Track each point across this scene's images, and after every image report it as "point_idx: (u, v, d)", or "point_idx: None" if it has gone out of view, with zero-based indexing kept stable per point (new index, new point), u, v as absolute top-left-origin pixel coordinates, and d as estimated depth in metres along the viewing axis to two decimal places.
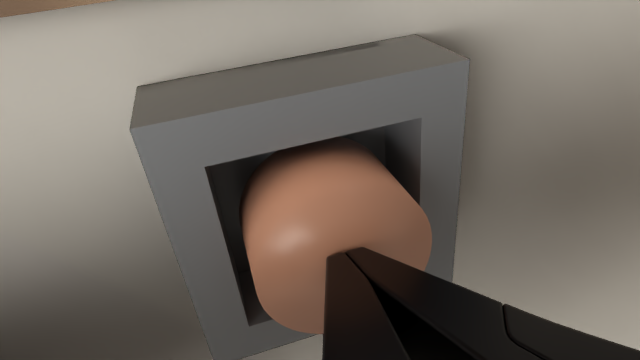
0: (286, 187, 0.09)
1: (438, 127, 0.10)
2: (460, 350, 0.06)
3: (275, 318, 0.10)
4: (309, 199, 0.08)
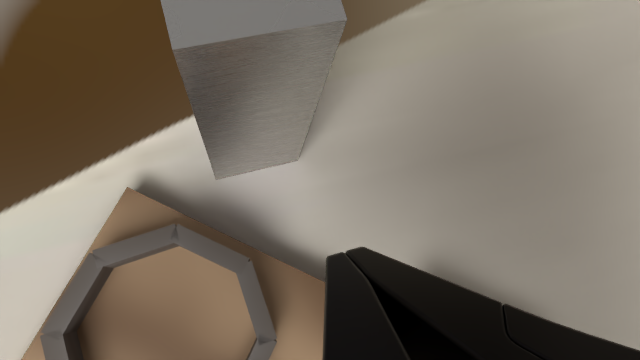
0: None
1: None
2: (460, 350, 0.06)
3: None
4: None
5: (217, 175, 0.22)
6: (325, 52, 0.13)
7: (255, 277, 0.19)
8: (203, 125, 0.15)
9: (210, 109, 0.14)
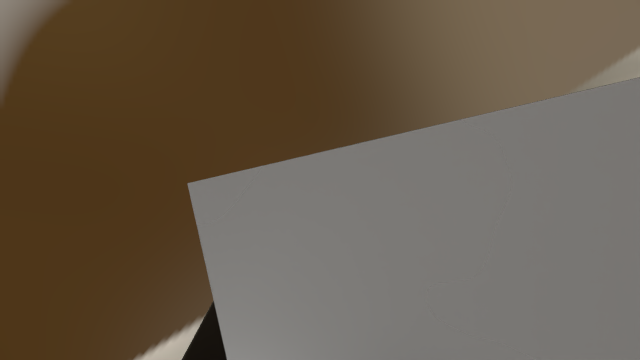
0: None
1: None
2: None
3: None
4: None
5: None
6: None
7: None
8: None
9: None
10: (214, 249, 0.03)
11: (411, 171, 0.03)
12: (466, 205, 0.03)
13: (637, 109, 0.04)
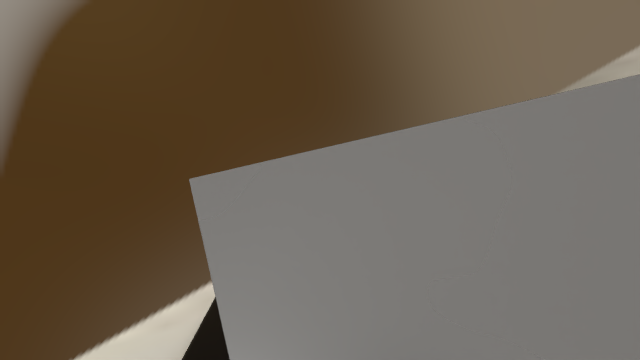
0: None
1: None
2: None
3: None
4: None
5: None
6: None
7: None
8: None
9: None
10: (216, 244, 0.03)
11: (412, 167, 0.03)
12: (466, 200, 0.03)
13: (638, 105, 0.04)
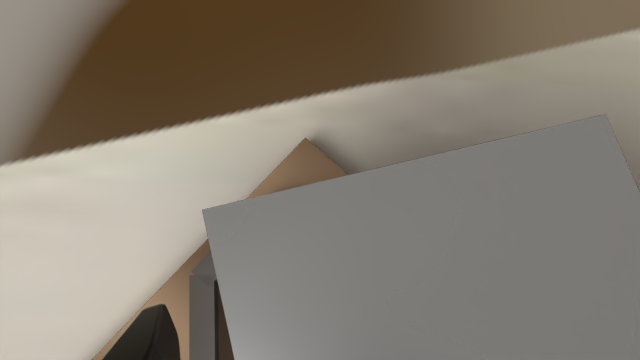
0: None
1: None
2: None
3: None
4: None
5: None
6: None
7: None
8: None
9: None
10: (222, 262, 0.04)
11: (378, 200, 0.04)
12: (420, 227, 0.04)
13: (565, 148, 0.05)
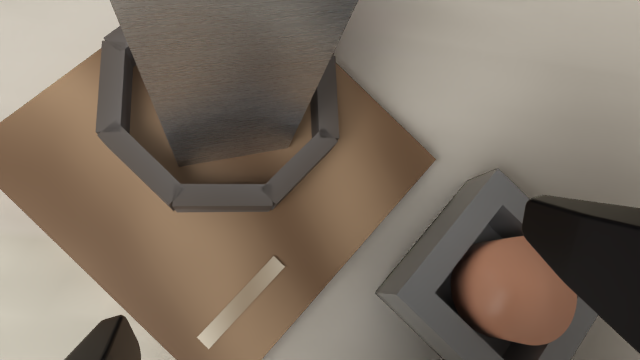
0: (471, 274, 0.17)
1: (514, 203, 0.18)
2: None
3: (523, 342, 0.16)
4: (484, 266, 0.17)
5: (180, 161, 0.17)
6: None
7: (334, 72, 0.18)
8: (151, 78, 0.10)
9: (160, 50, 0.09)
10: None
11: None
12: None
13: None
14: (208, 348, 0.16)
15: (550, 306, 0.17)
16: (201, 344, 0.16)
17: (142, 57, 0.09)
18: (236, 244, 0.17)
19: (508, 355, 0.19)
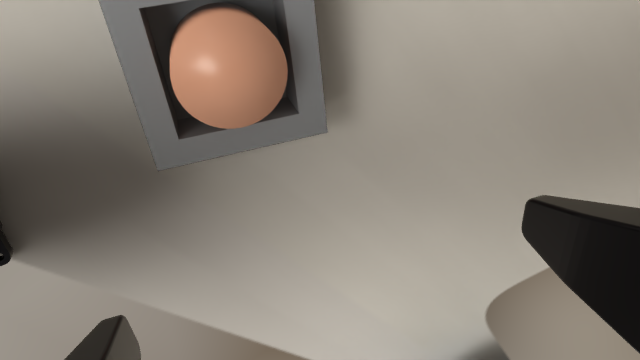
0: (190, 21, 0.15)
1: None
2: None
3: (186, 109, 0.15)
4: (199, 20, 0.14)
5: None
6: None
7: None
8: None
9: None
10: None
11: None
12: None
13: None
14: None
15: (238, 101, 0.16)
16: None
17: None
18: None
19: None
